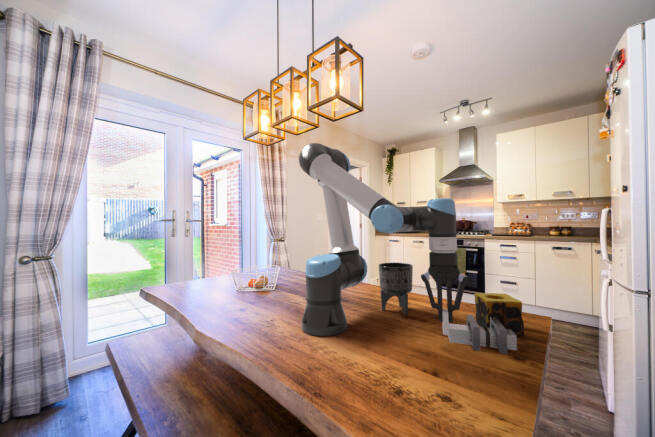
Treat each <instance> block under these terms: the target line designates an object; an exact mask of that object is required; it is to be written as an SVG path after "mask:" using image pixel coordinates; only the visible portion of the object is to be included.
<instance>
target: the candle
mask: <svg viewBox="0 0 655 437" xmlns="http://www.w3.org/2000/svg"><path fill="white" fill-rule="evenodd" d="M474 303H475V305H474V306H475V320H476V322H477V324H478V326H479V327H489V328H490V317H496V318H497V319H498V320H499V321H500V323H501V324H502V325H503V326H504V328H505V329H509V330H512V331H513V332H514V333H515V335H516V336H522V337H523V336H525V328H524V326H525V323H524V319H523V302H522V301H521V300H519V299H517V298H515V297H513V296H511V295H509V294H506V293H493V292H490V293H489V292H487V293H485V292H484V293H483V292H481V293H480V292H479V293H478V292H476V293H474Z"/></svg>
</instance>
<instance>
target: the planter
mask: <svg viewBox="0 0 655 437" xmlns="http://www.w3.org/2000/svg"><path fill="white" fill-rule="evenodd" d="M413 267H414V266H413V264H411V263H406V262H384V263H379V264H378V273H379V274H378V275H379V276H378V277H379V288H380V300H381V301H380V302H381V304H380V305H381V311H382V312H385V311H386V305H387V302H388V301H389V300H390V299H391V298H393V297H396V298H397V300H398V307H399V308H402V314H403V315H404V316H407V315H409V293H412V292H413V275H414V274H413V269H414V268H413Z"/></svg>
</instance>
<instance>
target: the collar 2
mask: <svg viewBox="0 0 655 437" xmlns="http://www.w3.org/2000/svg"><path fill="white" fill-rule="evenodd" d="M490 328H496V329H497V331H498V348H497V350H498V352H499V354H503V355H508V349H507V330H506V329H505V328H504V326H503V325H502V324H501V323H500V321H499V320H498V319H497V318H496V317H490Z"/></svg>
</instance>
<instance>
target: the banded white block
mask: <svg viewBox="0 0 655 437" xmlns="http://www.w3.org/2000/svg"><path fill="white" fill-rule="evenodd" d="M479 328H480V347H484V348H485V347H486V348H492V349H493V348H495V349H498V331H497V329H496V328H489V327H480V326H479ZM506 330H507V350H508V351H509V350H510V351H518V345H517V344H518V343H517V342H518V341H517V335H515V333H514V332H513V331H512V330H509V329H506ZM447 338H448V343H452V344H453V343H455V344H461V345H469V346H472V328H471V326H469V325H467V324H458V323H457V324H456V323H449V335H447Z"/></svg>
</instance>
